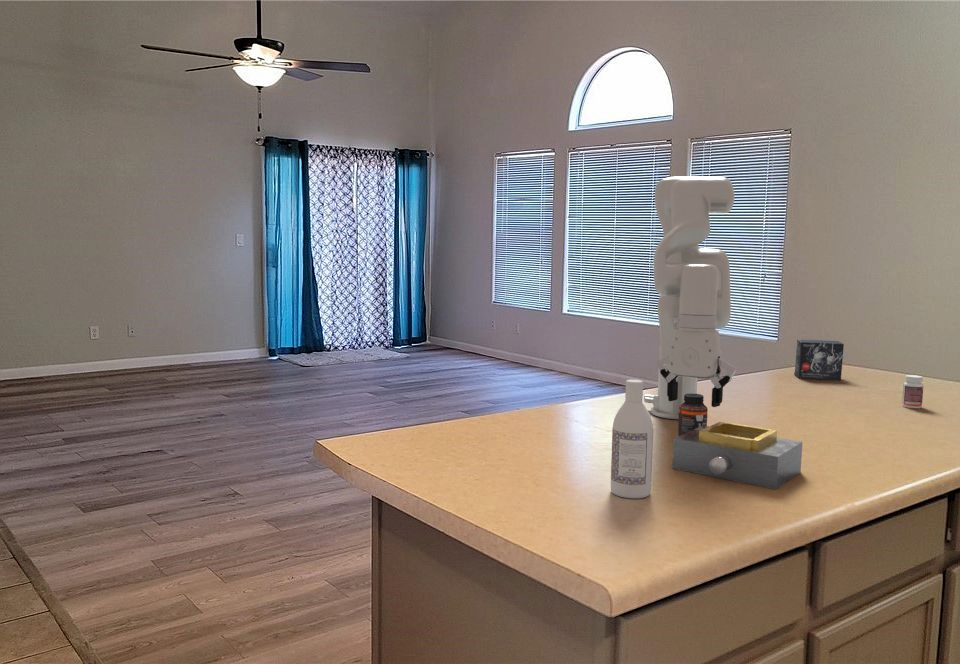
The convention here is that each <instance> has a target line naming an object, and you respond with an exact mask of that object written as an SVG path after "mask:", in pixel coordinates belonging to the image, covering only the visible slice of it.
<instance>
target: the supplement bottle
mask: <svg viewBox="0 0 960 664" xmlns="http://www.w3.org/2000/svg"><path fill="white" fill-rule="evenodd" d="M684 401H685V402H684V403H683V404H681V405H680V407H679V419H677V420H678V422H677V423H678V425H677V437H678V436H680V435H682V434H685V433H687V432H689V431H692V430H694V429H696V428H698V427H701V426H708V412H709V411H708V407H707V406H706V404H705V403H704V395H703V394H700V393H697V394H685V395H684Z"/></svg>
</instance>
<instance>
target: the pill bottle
mask: <svg viewBox="0 0 960 664" xmlns="http://www.w3.org/2000/svg"><path fill="white" fill-rule="evenodd" d="M923 381H924V380H923V376H920V375H913V374H907V375H905V382H904V383H903V386H902V398H901V399H902V400H901V401H902V402H901V403H902V404H901V405H902V407H903V408H908V409H921V408H923V397H924V384H923Z"/></svg>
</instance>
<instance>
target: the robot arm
mask: <svg viewBox="0 0 960 664" xmlns="http://www.w3.org/2000/svg"><path fill="white" fill-rule="evenodd" d="M654 203H655V210H656V214H657V216H658V217H657V218H658V220H659V222H660V225H661V229H662V232H663V233H662V234H663V237H662V239H661V240H660V241H659V243H658V245H657V246H656V249H655V252H654V255H653V283H654V289H655V291H656V293H658V294H659V295H660V296H659V298H658V300H657V314H658V315H657V316H658V323H659V325H658V327H659V360H656V365H657V366H658V381H657V382H658V383H657V384H658V387H657V394H655V395H653V394H647V393H646V394H644V397H643V401H644V402H643V403H644V404H645V403H646V404H652V405H653V406H652V407H651V408H650V414H652V415H653V416H655V417H657V418H663V419H668V420H669V419H670V420H679V407H680V405H681V404H683V403H684V402H685V401H684V395H685V394H698V379H709V380H710V381H711V383H712V385H713V386H714V387H712V388H711V403H710V404H711V407H712V408H717V407H719V406H721V403H722V402H723V396H724V395H723V392H724V387H725V386H726V385H727V384H728V383H730V382H731V381H732V379H733V377H734V375H735V374H736V372H737V367H735V366H734V365H732V364H731V363H729V362H728V361H726V360H725V359H723V358H722V345H721V339H720V338H721V337H720V333H719V330H718V329H723V328H726V327H727V326H728V325H729V323H730V319H731V312H732V311H731V309H732V308H731V306H732V305H731V301H732V300H731V268H730V260H729V256H728V254H727V253H726V252H725V251H723V250H722V249H718V248H700V247H699V244H701V243H703V242H704V241H706V240H707V239H708V237H709V236H710V233H711V222H710V221H711V220H710V214H728V213H729V212H730V211H732V209H733V206H734V203H735V190H734V186H733V184H732V182H731V180H730V179H729V178H728V177H724V176H670V177H665V178H662V179H661V180H659V181H658V182H657V183H656V185H655V188H654ZM722 369H724V370H725V371H726V372H725V375H724V376H723V377H722V376H721V372H722Z"/></svg>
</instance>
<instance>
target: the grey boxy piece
mask: <svg viewBox="0 0 960 664" xmlns="http://www.w3.org/2000/svg"><path fill="white" fill-rule="evenodd" d="M777 435H778V430H775V429H772V428H768V427H767V428H765V427H760V426H753V425H747V424H741V423H735V422H734V423H733V422H725V421H724V422H723V421H718V422H716V423H714V424H712V425H710V426H709V425H707V426H701V427H698V428H696V429H694V430H692V431H689V432H687V433H685V434H682V435H680V436H678V435H677V436H675V437H674V438H673V445H672V446H673V448H672V449H673V450H672V467H671V468H672V469H674V470H679V471H683V472H687V473H694V474H698V475H703V476H708V477H712V478H713V477H714V478H718V479H723V480H729V481H732V482H737V483H742V484H748V485H752V486H757V487H761V488H767V489H771V490H777V489H779V488H781V487H782V486H783V485H784V484H785V485H786V483H787V482H789V481H790V480H792V479H794V477H796V476H797V475H799V474H800V473H801V471H802V458H803V457H802V456H803V455H802V453H803V441H800V440H796V439H795V440H794V439H793V440H792V439H787V438H780V437H778V436H777Z"/></svg>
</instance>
